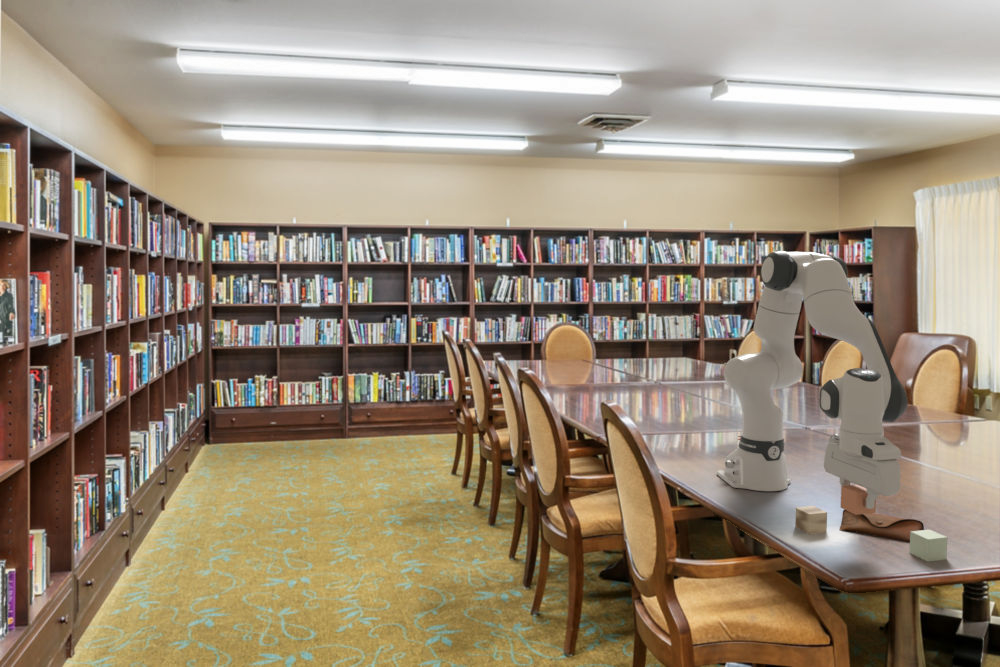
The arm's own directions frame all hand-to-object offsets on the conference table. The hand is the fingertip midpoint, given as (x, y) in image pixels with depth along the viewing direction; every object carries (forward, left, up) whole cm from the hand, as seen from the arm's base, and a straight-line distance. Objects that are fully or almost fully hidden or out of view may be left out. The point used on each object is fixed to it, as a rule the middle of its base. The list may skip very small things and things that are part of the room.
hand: (858, 503), depth 166 cm
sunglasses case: (-8, +13, -11) cm, 19 cm away
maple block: (-14, -2, -11) cm, 18 cm away
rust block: (0, 0, -2) cm, 2 cm away
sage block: (+7, +12, -11) cm, 18 cm away
